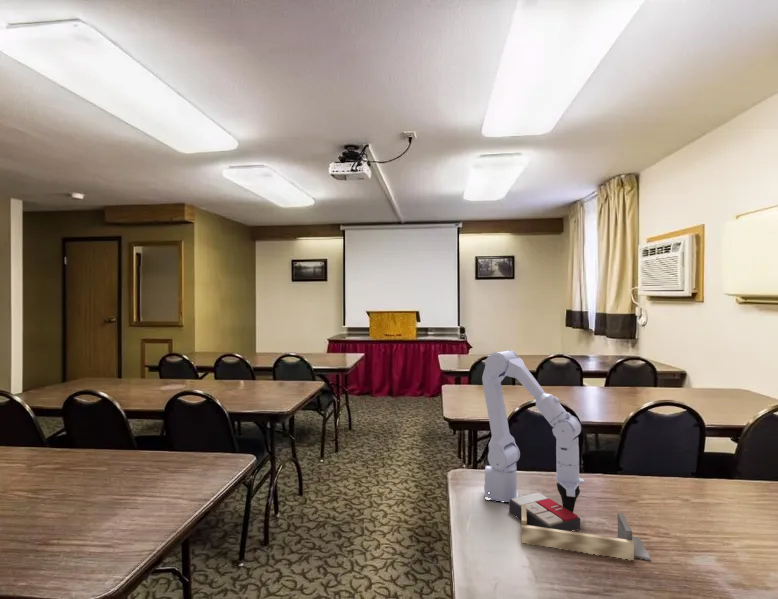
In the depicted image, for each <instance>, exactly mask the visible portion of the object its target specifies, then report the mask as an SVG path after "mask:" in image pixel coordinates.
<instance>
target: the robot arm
mask: <svg viewBox="0 0 778 599" xmlns="http://www.w3.org/2000/svg"><path fill="white" fill-rule="evenodd" d="M505 377H509V378H513V379H516V380H517V381H518V382H519V383H520V384H521V385H522V386H523V388H525V390H526V391H527V392H528V393H529V394H530V395H531V396H532V398H534V400H535V407H536V409H537V410H538V411H539V412H540V414H541V415H542V416H543V417H544V419H546V421H547V422H548V424H549V425H550V426H551V427H552V434H553V436H554V437H555V439H556V441H555V443H556V446H555V451H556V452H555V454H556V455H555V456H556V458H555V459H556V464H555V465H556V475H555V480H556V489H557V491H558V493H559V495H560V498H561V503H562V506H563V507H564V508H566V509H568V510H569V511H571V512H572V513H574V511H575V505H576V501H577V498H578V497H579V495H580V493H581V490H580V484H581V485H582V484H583V485H584V484H585V480H584V478H581V477H580V447H579V446H580V445H579V435H580V434H581V432H582V425H581V422H580V421H579V420H578V418H577V417H576V416H574V415H572V414H571V413H570V412H568V411H566V409H565V408H564V407H563V406H562V405H561V403H560V402H559V401H560V399H559V398H558V397H557V396H554V395H553V394H552V393H547V392H545V390H544V389H543V388H542V386H541V385H540V384H539V382H538V380H537V379H536V378H535V377H534V375H533V374H532V373H531V372H530V370H529V368H528V367H527V366H526V364H525V362H524V360H523V359H522V358H521V357H519V355H518V354H517V353H516V352H515V351H514V350H511V349H507V350H504V351H499V352H498V351H494V352H492V353H491V354H489V355H488V356H487V358H485V360H484V369H483V373H482V377H481V379H482V380H481V381H482V387H483V392H484V397H485V403H486V404H485V405H486V409H487V416H488V421H489V427H490V428H489V429H490V434H491V438H490V441H489V442H488V453H487V461H488V463H489V465H485V468H484V485H483V486H484V487H483V490H484V498H485V497H488V498H491V499H490V500H496V501H504V502H509V501H510V499H513V498H517V497H519V491H518V490H517V462H518V461H519V459H520V457H521V451H520V449H519V446H518V445H517V444H516V440H515V437H514V436H513V435H511V433H510V428H509V427H510V426H509V421H508V416H507V410H506V405H505V399H504V393H503V389H502V381H503V380H504V379H505ZM488 492H490V494H488ZM496 501H495V502H496ZM504 502H503V503H504Z"/></svg>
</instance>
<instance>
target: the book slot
mask: <svg viewBox="0 0 778 599" xmlns="http://www.w3.org/2000/svg"><path fill="white" fill-rule="evenodd" d="M521 516H522V519H521V544H523V543H527V544H526V545H529V544H532V545H531V546H535V545H540V546H539V547H542V546H547V547H546V548H548V547H554V548H561V549H568V550H573V551H572V552H574V551H577V552H576V553H580V552H583V553H582V554H586V553H588V555H593V554H595V555H594V556H599V555H602V556H601V557H605V556H611V557H610V558H612V557H617V558H616V559H618V558H622V559H621V560H625V559H628V560H627V561H631V560H634V561H635V559H636V558H640V559H639V560H642V559H645V561H649V560H650V561H651V556H650V554H649V553H648V550H647V548H646V547H645V545H644V544H643V542H642V540H641V537H638V536H633V530H632V529H631V527H630V525H629V523H628V522H629V521H628V520H627V518H626V517H625V515H624V513H623V512H617V537H612V536H604V535H599V534H592V533H591V534H590V533H584V532H577V531H573V532H571V531H564V530H557V529H551V528H544V527H537V526H530V525H529V524H528V523H527V514H526V505H525V504H521ZM533 544H534V545H533ZM554 548H553V549H554ZM561 549H560V550H561Z"/></svg>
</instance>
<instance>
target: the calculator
mask: <svg viewBox="0 0 778 599" xmlns="http://www.w3.org/2000/svg"><path fill="white" fill-rule="evenodd" d="M508 504H509V506H508V508H509V510H508V512H509V513H510V512H511V513H512V514H514V515H515V516H517V517H518V518H517V517H516V518H517V519H521V520H522V516H521V504H525V505H526V514H527V525H530V526H537V527H544V528H551V529H557V530H564V531H572V530H576V531H578V530H577V529H580V530H581V518H580V517H579V516H578V514H576V513H574V512H573V513H572V512H571V511H569V510H568V509H566V508H564V507H563V505H561V504H559V503H557V502H556V501H555V500H553V499H551V498H548V497H547V496H545V495H543V494H542V493H540V492H535V493H530V494H526V495H522V496H518V497H517V498H513V499H510V501H509V503H508ZM511 513H510V514H511ZM512 514H511V515H512ZM514 515H513V516H514ZM515 516H514V517H515Z"/></svg>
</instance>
